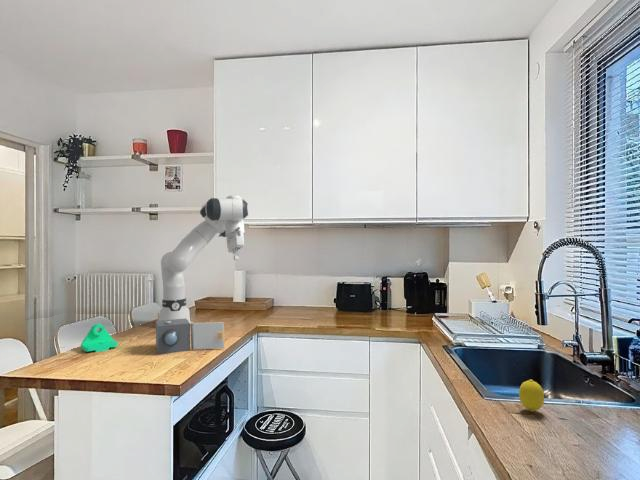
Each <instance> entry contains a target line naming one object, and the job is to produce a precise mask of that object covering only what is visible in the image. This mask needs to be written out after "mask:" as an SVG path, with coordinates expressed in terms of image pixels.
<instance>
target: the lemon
mask: <svg viewBox="0 0 640 480" xmlns="http://www.w3.org/2000/svg"><path fill="white" fill-rule="evenodd" d="M518 398H519V401H520V403H521V404H522V406H523V407H524V408H525V409H527V410H528V411H529V412H531V413H533V412H535V411H538V410H540V409H541V408H542V407H543V405H544V403H545V394H544V390H543V388H542V386H541V385H540V384H539V383H538V382H537V381H534V380H533V379H528V380H526V381H523V382H522V383H521V385H520V387H519V391H518Z"/></svg>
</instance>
